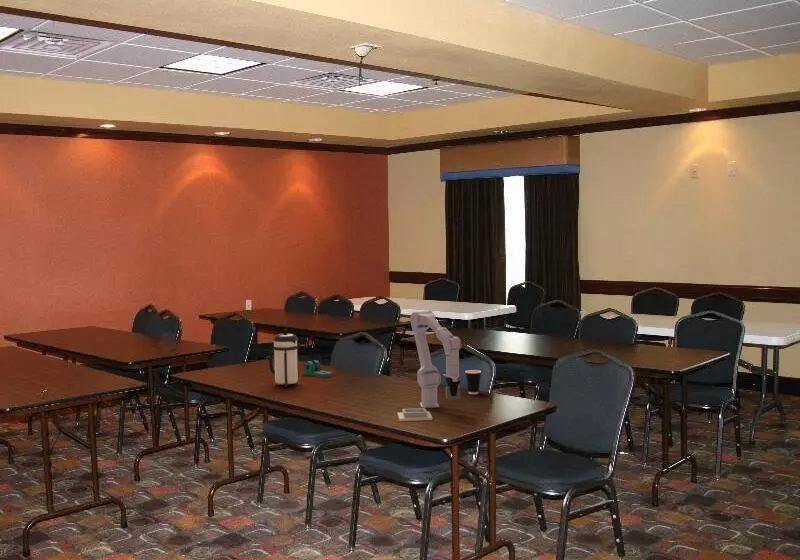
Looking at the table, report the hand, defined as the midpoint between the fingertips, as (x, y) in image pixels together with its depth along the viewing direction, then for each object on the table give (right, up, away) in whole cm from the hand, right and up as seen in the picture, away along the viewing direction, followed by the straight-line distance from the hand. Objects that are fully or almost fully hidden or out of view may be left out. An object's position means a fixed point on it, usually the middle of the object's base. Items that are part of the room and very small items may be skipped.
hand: (452, 394), depth 359 cm
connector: (0, -2, 0) cm, 2 cm away
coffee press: (-85, -5, +72) cm, 111 cm away
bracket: (-69, -3, +98) cm, 120 cm away
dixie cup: (+13, -6, +43) cm, 45 cm away
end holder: (-17, -9, -6) cm, 20 cm away
